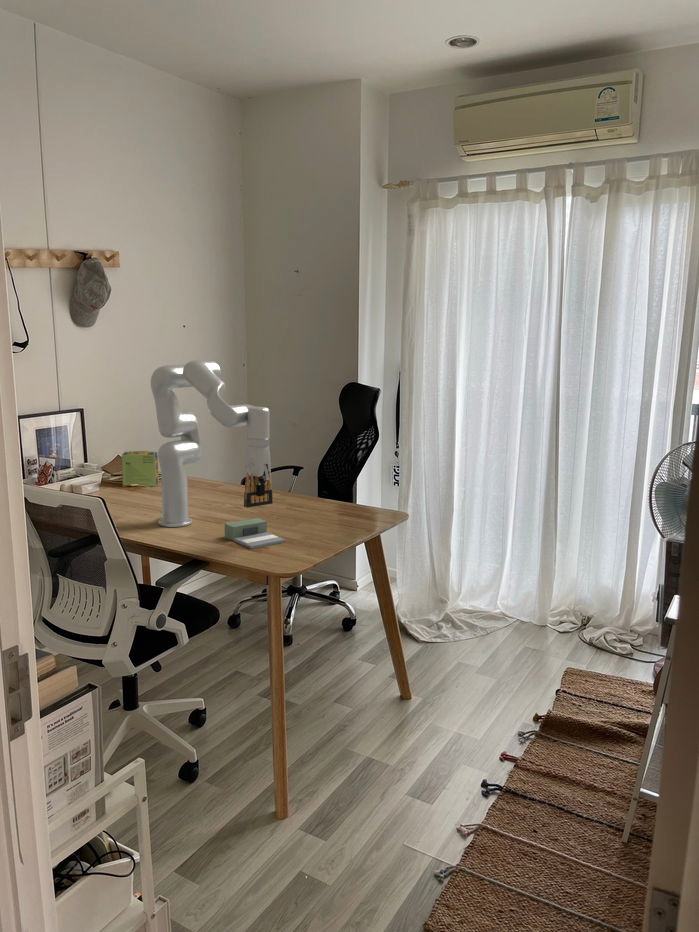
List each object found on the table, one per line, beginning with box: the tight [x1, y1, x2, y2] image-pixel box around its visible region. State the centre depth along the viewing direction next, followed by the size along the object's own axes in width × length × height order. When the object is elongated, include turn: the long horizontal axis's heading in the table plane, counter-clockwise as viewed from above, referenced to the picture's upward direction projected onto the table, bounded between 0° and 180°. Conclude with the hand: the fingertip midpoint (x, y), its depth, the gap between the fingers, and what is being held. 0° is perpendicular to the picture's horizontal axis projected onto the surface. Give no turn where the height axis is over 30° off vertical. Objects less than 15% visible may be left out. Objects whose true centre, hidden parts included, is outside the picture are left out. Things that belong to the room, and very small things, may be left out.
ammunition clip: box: [243, 472, 274, 508], centre depth 256 cm, size 11×2×12 cm, turn 129°
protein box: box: [121, 450, 160, 487], centre depth 346 cm, size 10×15×16 cm
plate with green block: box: [224, 517, 286, 550], centre depth 262 cm, size 18×14×5 cm
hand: (258, 494), depth 257 cm, fingers closed on ammunition clip, 2 cm apart
